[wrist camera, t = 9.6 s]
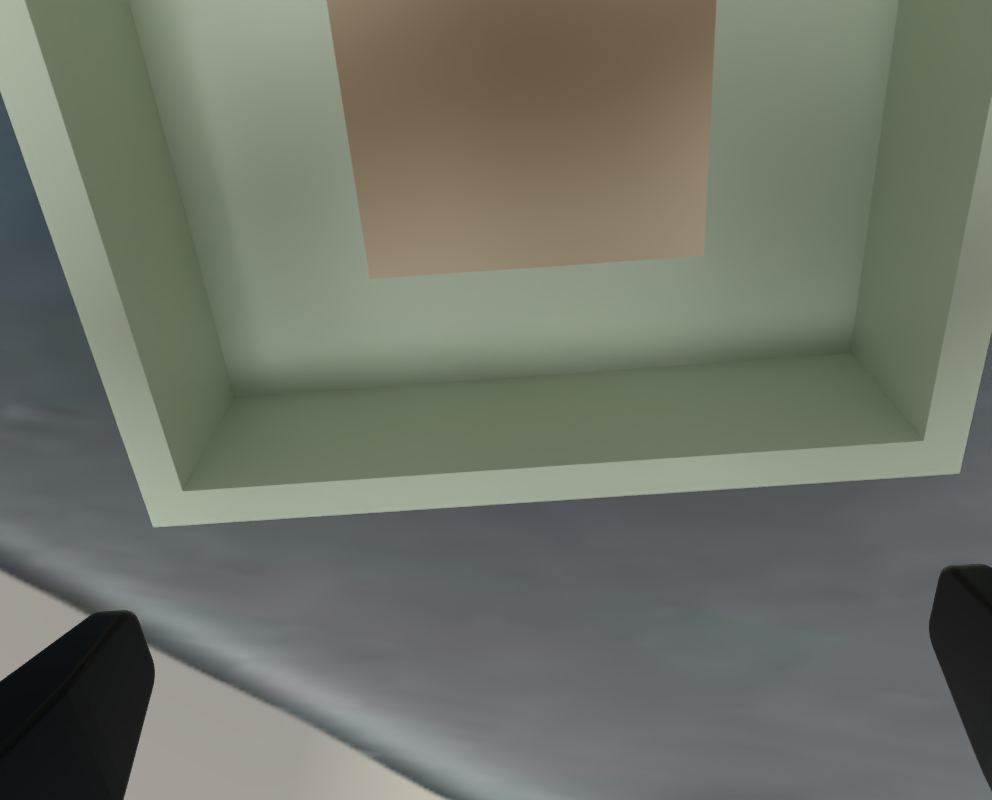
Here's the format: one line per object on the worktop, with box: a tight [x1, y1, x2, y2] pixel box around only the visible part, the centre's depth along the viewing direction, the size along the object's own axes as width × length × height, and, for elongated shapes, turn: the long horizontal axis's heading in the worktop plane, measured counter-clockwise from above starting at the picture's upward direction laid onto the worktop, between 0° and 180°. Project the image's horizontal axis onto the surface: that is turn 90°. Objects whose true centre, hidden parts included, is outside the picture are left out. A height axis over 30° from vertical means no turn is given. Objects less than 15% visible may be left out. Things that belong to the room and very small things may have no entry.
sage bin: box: [0, 0, 992, 527], centre depth 14 cm, size 16×16×4 cm
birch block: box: [326, 0, 716, 279], centre depth 14 cm, size 5×5×5 cm
